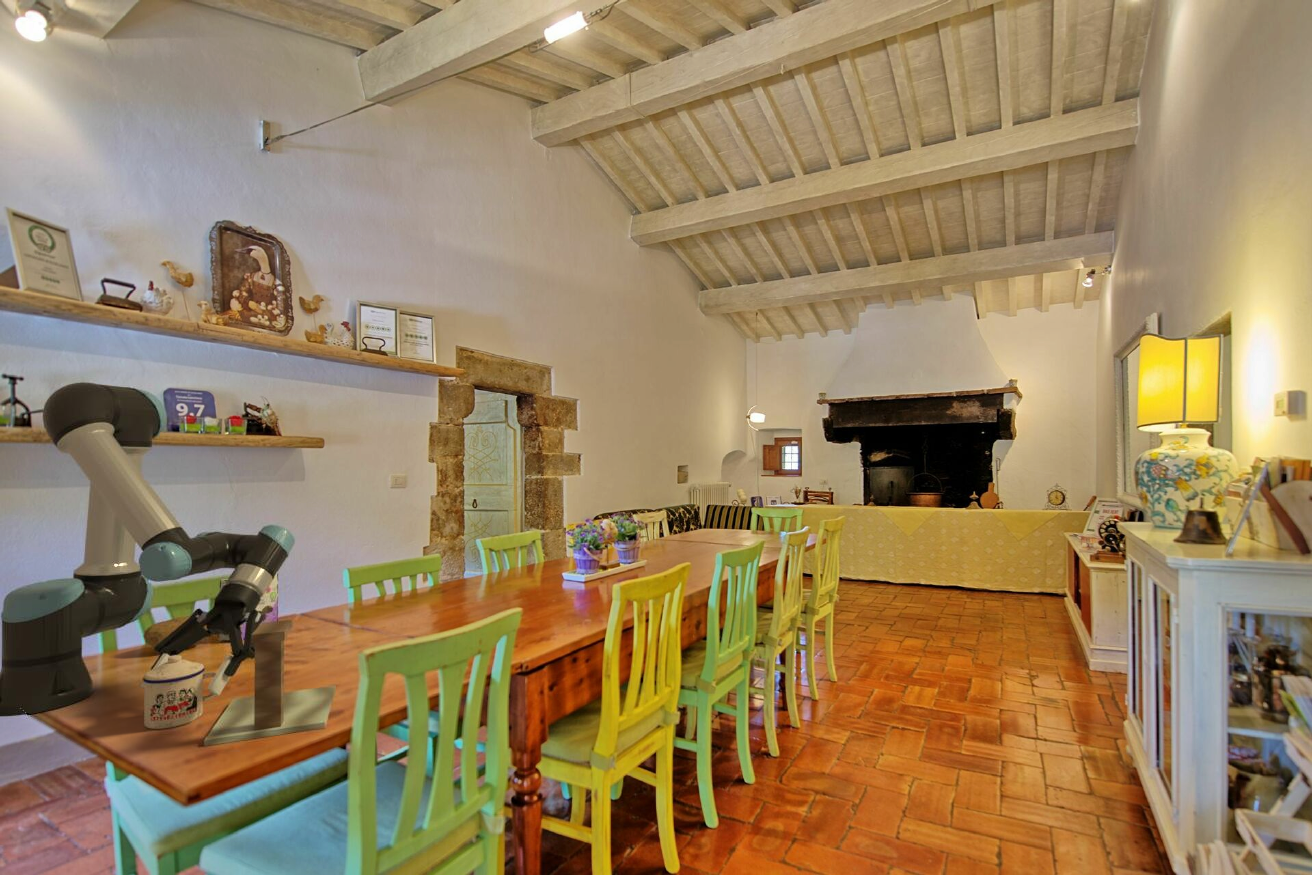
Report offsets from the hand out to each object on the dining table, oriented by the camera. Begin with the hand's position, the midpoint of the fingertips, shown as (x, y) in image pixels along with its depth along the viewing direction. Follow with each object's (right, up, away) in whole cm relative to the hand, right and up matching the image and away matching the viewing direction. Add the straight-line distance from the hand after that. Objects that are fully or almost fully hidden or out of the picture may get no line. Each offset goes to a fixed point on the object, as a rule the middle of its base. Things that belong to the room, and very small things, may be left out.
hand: (179, 691), depth 117 cm
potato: (-34, -8, +45) cm, 57 cm away
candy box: (-24, -8, +57) cm, 63 cm away
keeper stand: (+17, -5, +2) cm, 18 cm away
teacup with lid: (0, -6, +1) cm, 6 cm away
